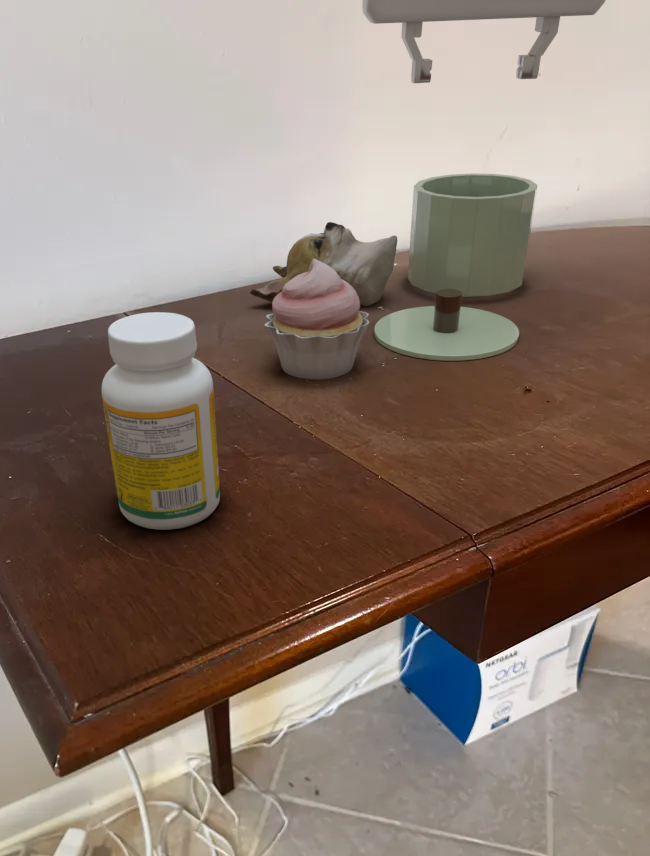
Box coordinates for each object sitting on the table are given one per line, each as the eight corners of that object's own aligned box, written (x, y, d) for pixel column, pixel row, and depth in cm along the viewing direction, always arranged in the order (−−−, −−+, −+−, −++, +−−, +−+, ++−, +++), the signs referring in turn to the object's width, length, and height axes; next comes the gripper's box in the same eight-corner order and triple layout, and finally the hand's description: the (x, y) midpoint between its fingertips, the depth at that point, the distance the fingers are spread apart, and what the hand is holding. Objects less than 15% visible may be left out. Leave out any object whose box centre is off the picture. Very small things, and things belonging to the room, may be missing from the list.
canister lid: (495, 313, 84) (501, 268, 82) (536, 363, 73) (545, 313, 70) (364, 319, 84) (366, 275, 82) (385, 370, 73) (388, 321, 71)
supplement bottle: (181, 544, 52) (161, 355, 45) (97, 516, 55) (66, 336, 48) (241, 493, 57) (231, 316, 50) (160, 470, 60) (140, 300, 53)
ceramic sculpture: (389, 232, 78) (242, 237, 83) (389, 320, 83) (250, 320, 88) (405, 208, 87) (270, 213, 91) (404, 289, 91) (276, 290, 96)
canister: (504, 265, 98) (516, 170, 92) (537, 298, 87) (553, 194, 82) (399, 270, 98) (405, 176, 92) (419, 304, 88) (427, 201, 82)
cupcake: (281, 347, 79) (279, 241, 73) (377, 355, 76) (382, 246, 71) (251, 386, 72) (246, 272, 66) (355, 396, 69) (359, 278, 63)
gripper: (611, -120, 67) (578, 72, 75) (364, -109, 68) (356, 81, 75) (642, -128, 62) (603, 79, 70) (374, -117, 62) (365, 88, 70)
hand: (473, 80), depth 73 cm, fingers open, 8 cm apart
